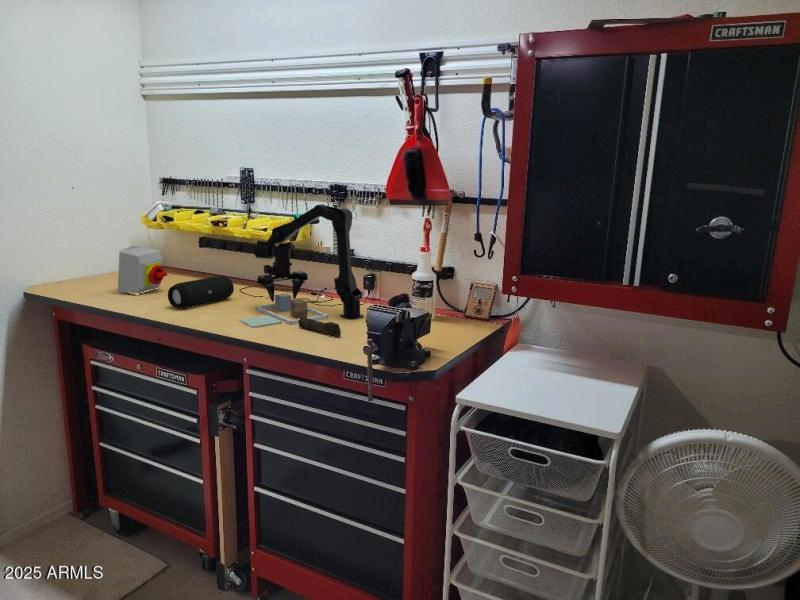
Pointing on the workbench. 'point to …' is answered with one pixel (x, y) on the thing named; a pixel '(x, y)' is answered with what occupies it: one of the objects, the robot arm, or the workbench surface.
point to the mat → (260, 321)
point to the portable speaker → (200, 291)
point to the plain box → (298, 308)
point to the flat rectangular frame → (261, 308)
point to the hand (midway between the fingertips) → (283, 300)
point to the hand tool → (320, 326)
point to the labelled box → (282, 302)
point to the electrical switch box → (139, 269)
